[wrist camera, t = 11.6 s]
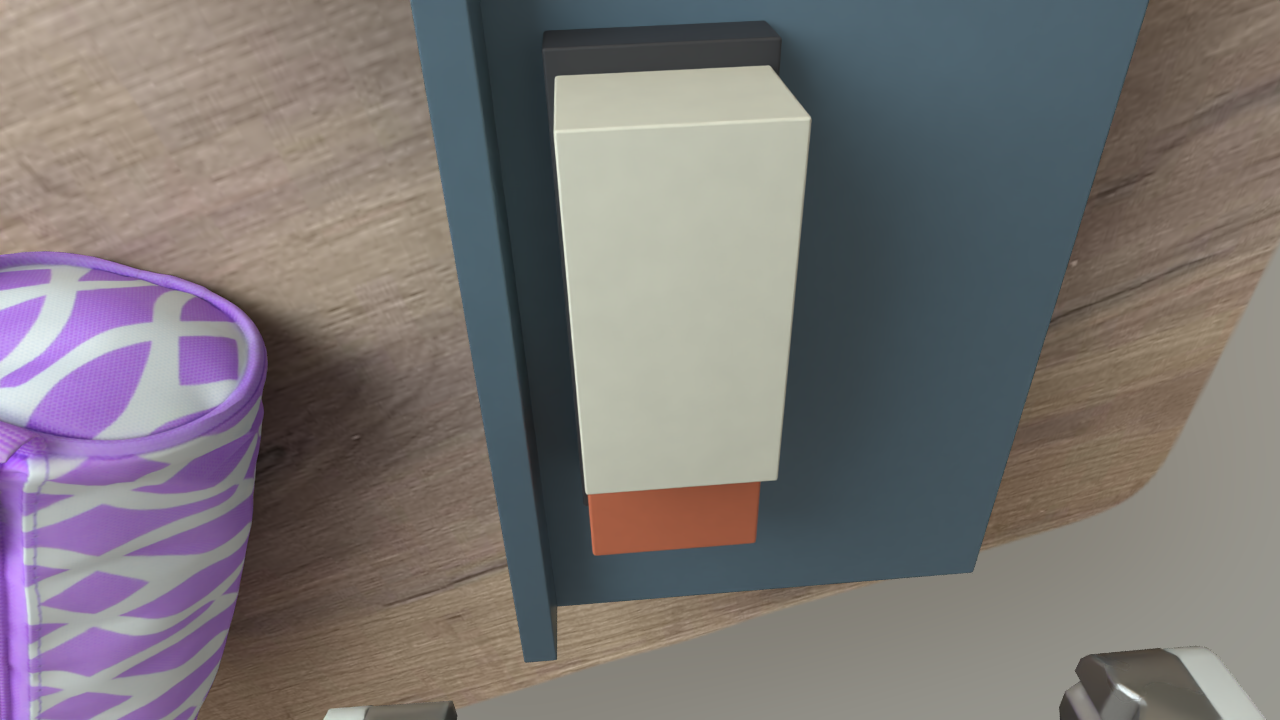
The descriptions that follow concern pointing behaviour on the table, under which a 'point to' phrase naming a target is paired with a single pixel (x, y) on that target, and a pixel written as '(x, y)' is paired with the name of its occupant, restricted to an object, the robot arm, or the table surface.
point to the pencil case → (120, 486)
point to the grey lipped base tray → (798, 275)
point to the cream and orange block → (676, 271)
